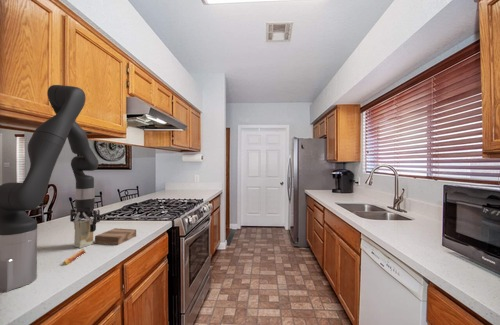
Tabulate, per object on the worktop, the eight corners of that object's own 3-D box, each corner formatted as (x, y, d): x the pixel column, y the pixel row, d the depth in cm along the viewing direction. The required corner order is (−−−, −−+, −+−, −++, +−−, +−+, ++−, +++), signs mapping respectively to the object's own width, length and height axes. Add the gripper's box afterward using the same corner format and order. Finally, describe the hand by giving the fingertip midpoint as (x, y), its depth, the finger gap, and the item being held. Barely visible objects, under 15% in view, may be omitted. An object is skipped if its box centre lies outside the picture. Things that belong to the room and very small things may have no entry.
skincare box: (79, 248, 102) (80, 222, 102) (73, 247, 103) (74, 221, 103) (94, 243, 108) (94, 218, 108) (88, 242, 109) (88, 218, 109)
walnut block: (118, 245, 107) (118, 237, 107) (94, 244, 109) (94, 236, 109) (136, 237, 119) (136, 229, 119) (115, 235, 121) (115, 228, 121)
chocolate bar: (60, 266, 85) (60, 260, 85) (80, 253, 97) (80, 248, 97) (68, 266, 86) (68, 260, 86) (86, 253, 97) (86, 248, 97)
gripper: (64, 198, 103) (64, 232, 103) (91, 199, 101) (91, 234, 101) (79, 195, 111) (79, 227, 111) (104, 196, 108) (104, 229, 108)
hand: (85, 231), depth 106 cm, fingers open, 8 cm apart
